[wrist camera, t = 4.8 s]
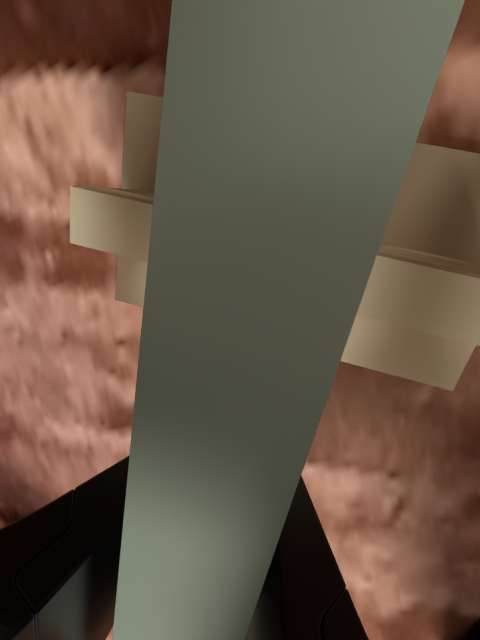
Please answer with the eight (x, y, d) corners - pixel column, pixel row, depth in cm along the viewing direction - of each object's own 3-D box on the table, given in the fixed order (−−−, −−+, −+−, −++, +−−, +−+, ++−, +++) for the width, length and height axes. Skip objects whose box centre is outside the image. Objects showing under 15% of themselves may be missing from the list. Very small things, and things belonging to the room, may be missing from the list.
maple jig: (556, 170, 13) (708, 151, 8) (448, 384, 17) (504, 466, 12) (133, 94, 16) (41, 42, 10) (121, 296, 19) (48, 332, 14)
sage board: (408, -7, 6) (717, -735, 1) (262, 488, 10) (216, 721, 6) (297, -21, 6) (235, -664, 2) (200, 468, 11) (109, 673, 6)
